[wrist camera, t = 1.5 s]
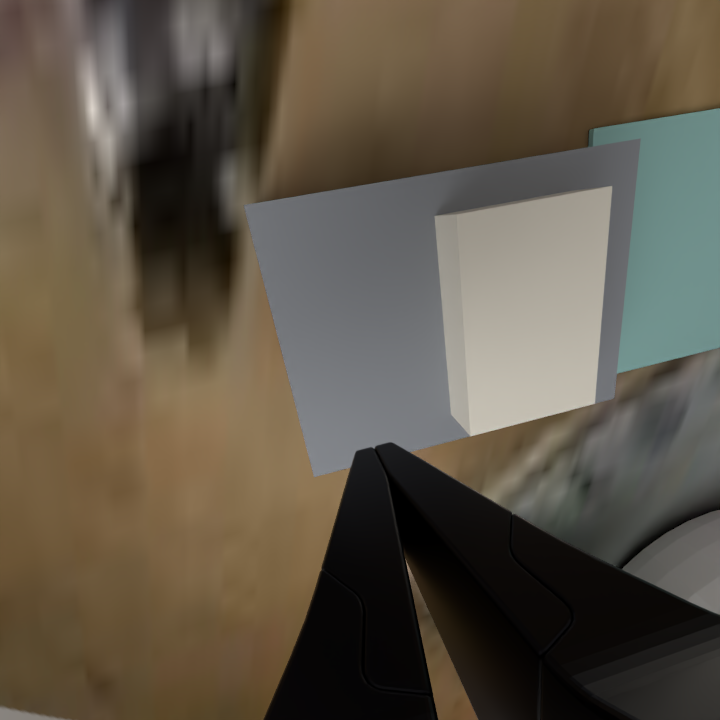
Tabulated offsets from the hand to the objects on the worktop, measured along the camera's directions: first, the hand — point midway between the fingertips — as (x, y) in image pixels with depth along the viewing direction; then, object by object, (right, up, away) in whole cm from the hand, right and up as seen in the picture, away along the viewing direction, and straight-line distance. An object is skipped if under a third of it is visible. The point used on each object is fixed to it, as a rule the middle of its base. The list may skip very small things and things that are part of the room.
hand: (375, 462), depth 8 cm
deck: (+3, +5, +12) cm, 13 cm away
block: (+6, +4, +8) cm, 11 cm away
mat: (+19, +9, +14) cm, 25 cm away
